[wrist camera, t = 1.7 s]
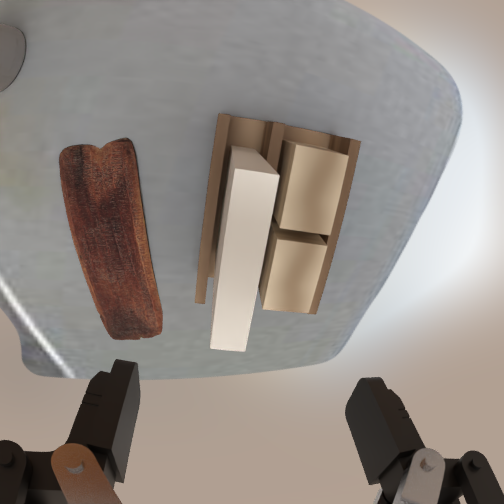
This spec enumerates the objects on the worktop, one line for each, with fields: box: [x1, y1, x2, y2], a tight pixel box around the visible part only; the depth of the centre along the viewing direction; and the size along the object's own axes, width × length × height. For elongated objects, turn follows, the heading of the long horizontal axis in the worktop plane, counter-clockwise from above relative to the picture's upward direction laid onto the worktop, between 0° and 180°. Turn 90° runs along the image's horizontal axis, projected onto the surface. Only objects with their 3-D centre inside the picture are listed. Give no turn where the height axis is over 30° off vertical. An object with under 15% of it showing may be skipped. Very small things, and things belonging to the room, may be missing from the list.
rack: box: [195, 113, 361, 314], centre depth 32 cm, size 13×18×7 cm
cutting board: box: [210, 145, 280, 352], centre depth 26 cm, size 2×12×16 cm, turn 171°
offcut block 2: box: [258, 213, 327, 313], centre depth 32 cm, size 4×7×8 cm, turn 171°
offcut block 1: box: [273, 139, 349, 235], centre depth 29 cm, size 4×7×8 cm, turn 171°
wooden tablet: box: [59, 138, 163, 340], centre depth 36 cm, size 26×2×10 cm
